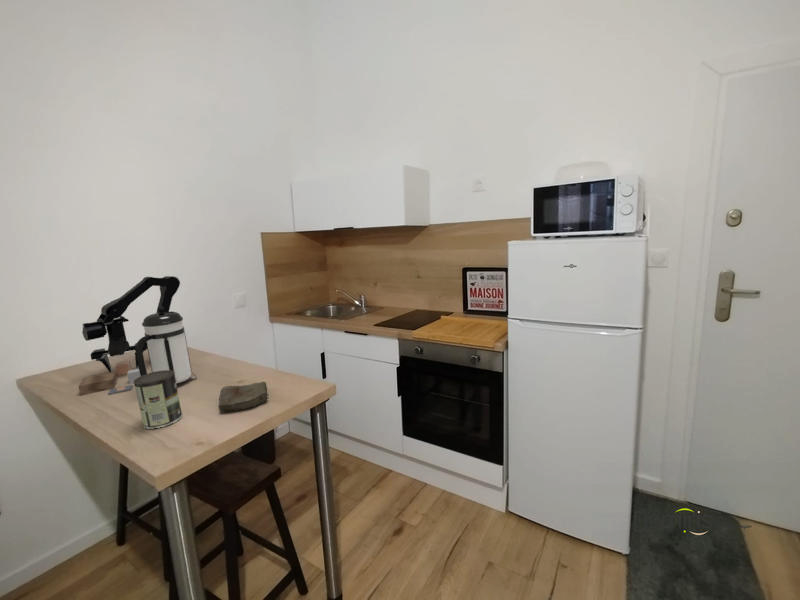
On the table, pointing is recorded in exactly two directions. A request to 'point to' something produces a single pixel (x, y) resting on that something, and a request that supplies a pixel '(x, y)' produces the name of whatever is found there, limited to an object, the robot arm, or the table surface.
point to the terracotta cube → (123, 368)
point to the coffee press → (165, 345)
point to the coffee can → (158, 399)
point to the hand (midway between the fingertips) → (124, 369)
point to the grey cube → (133, 375)
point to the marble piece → (242, 396)
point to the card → (120, 389)
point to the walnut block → (98, 383)
